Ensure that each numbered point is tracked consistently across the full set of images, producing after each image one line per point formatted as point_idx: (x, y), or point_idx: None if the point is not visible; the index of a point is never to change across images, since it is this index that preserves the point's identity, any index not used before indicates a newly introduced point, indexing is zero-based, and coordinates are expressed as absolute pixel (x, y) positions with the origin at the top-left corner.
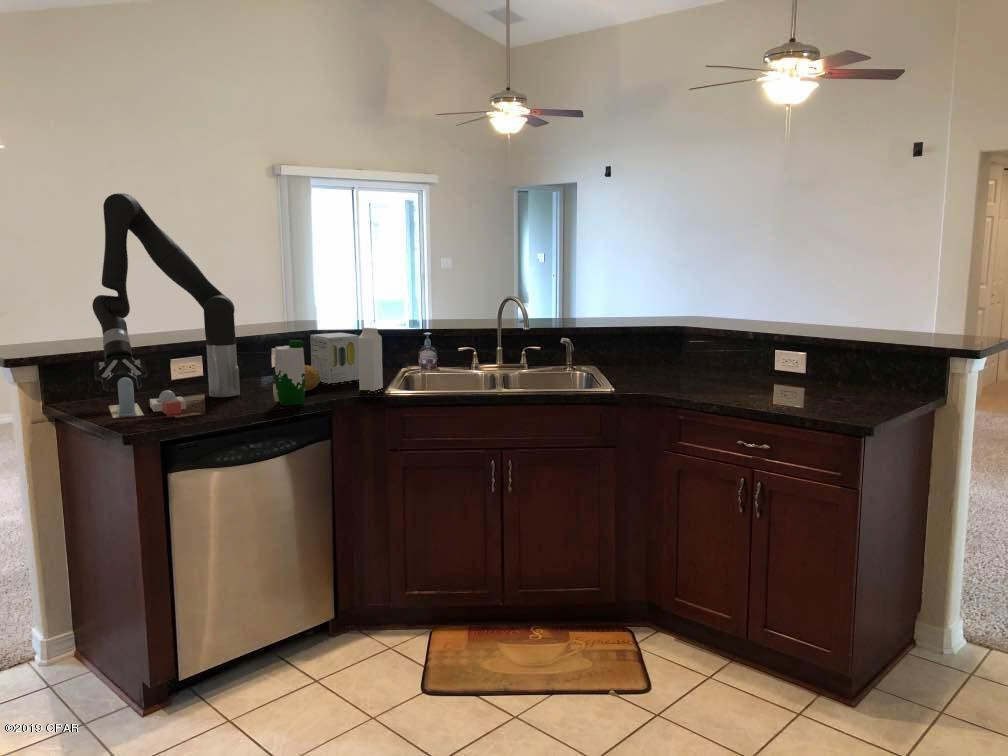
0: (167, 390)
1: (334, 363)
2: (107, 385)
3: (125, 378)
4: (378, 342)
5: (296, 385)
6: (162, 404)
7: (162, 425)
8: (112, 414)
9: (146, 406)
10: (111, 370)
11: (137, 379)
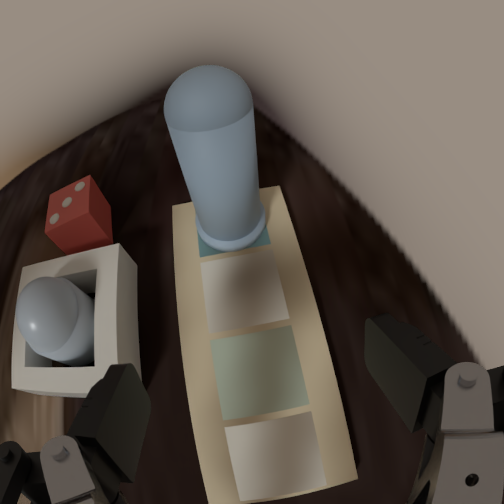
0: (24, 299)
1: None
2: (382, 323)
3: (199, 66)
4: None
5: None
6: (93, 216)
7: (146, 129)
8: (296, 245)
9: (165, 470)
10: (430, 484)
11: (106, 402)
